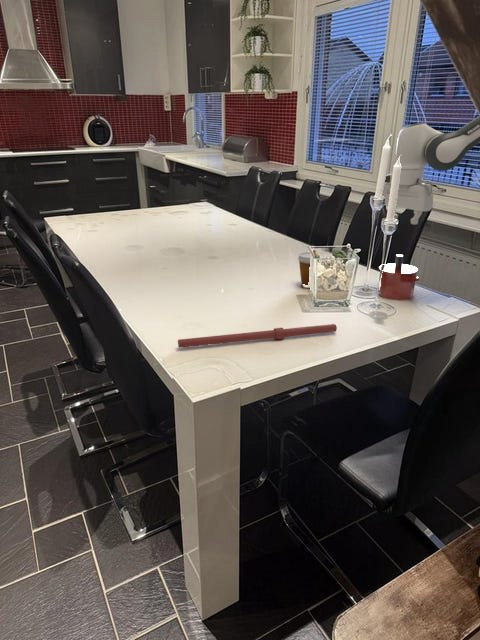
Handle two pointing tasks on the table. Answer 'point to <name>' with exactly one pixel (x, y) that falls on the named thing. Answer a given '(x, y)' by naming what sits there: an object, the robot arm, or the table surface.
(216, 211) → the table surface
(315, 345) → the table surface
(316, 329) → the dark red rod
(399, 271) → the lid
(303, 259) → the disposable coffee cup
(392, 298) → the red cooking pot
